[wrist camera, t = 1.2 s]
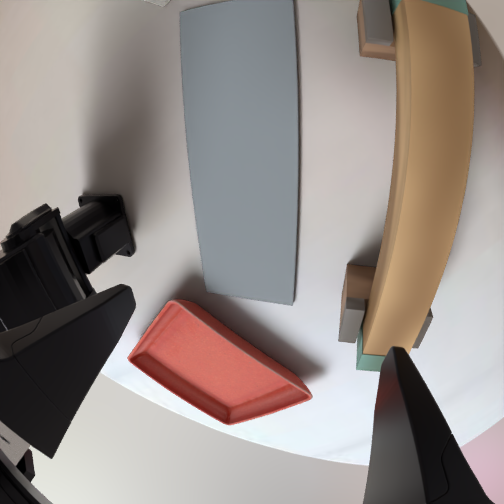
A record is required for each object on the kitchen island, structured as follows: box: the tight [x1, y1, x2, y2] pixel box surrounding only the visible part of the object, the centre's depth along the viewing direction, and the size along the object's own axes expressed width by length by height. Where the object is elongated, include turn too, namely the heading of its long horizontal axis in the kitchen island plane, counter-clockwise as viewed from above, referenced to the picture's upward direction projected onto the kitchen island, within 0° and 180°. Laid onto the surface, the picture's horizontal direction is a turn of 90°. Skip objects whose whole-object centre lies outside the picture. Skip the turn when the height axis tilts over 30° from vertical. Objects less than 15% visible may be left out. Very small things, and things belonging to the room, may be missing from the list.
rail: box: [356, 0, 474, 372], centre depth 11 cm, size 3×22×3 cm, turn 2°
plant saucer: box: [127, 299, 313, 425], centre depth 31 cm, size 18×18×3 cm
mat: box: [180, 0, 299, 306], centre depth 19 cm, size 8×24×1 cm, turn 2°
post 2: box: [338, 264, 433, 348], centre depth 18 cm, size 6×3×5 cm, turn 93°
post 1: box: [357, 0, 481, 67], centre depth 9 cm, size 6×3×5 cm, turn 92°
